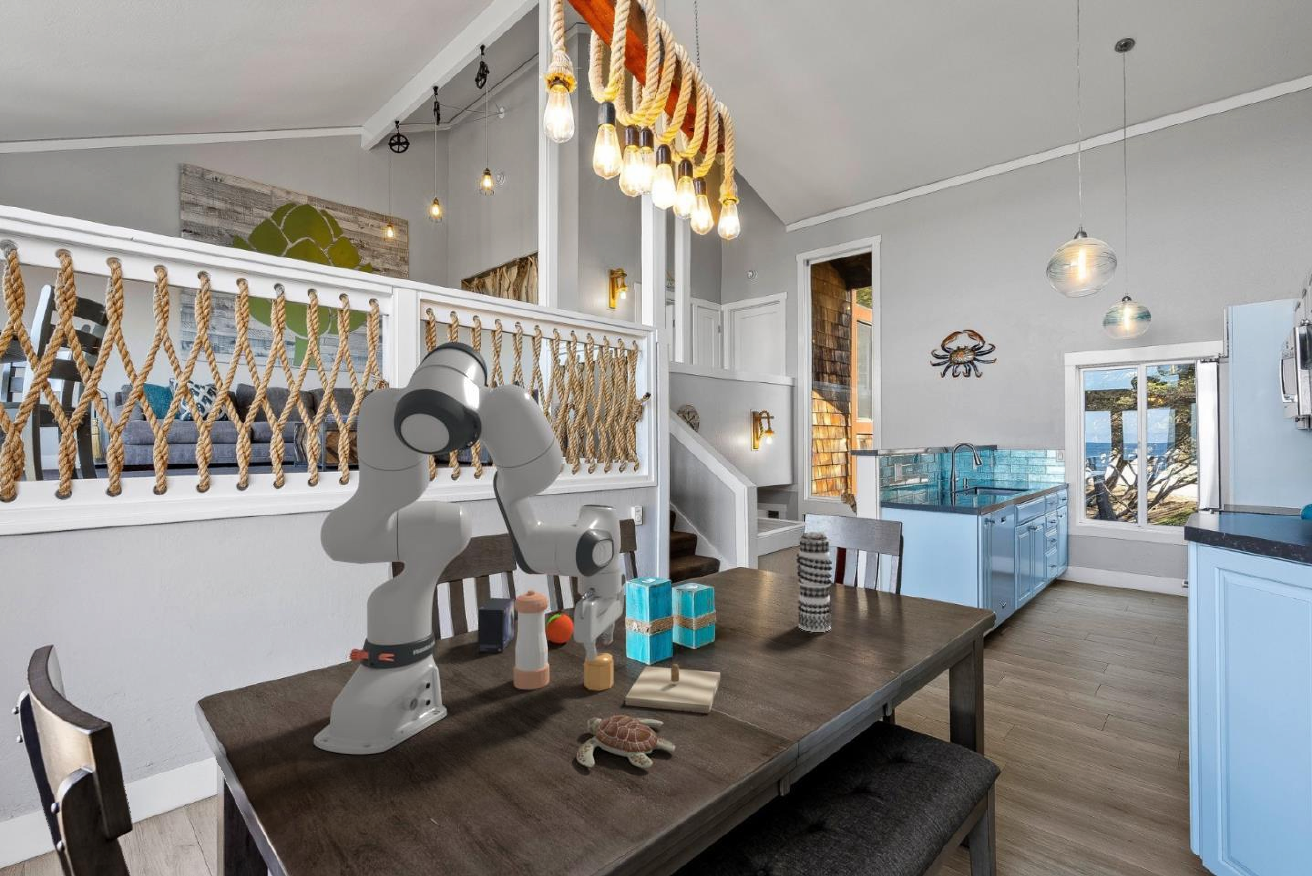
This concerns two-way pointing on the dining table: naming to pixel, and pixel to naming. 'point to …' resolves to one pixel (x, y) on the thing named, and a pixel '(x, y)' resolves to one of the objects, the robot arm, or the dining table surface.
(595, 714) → the dining table surface
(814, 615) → the decorative candle
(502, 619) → the small box
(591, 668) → the tan rounded cylinder
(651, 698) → the square peg board
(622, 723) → the decorative turtle
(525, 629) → the salt shaker
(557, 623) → the clementine
